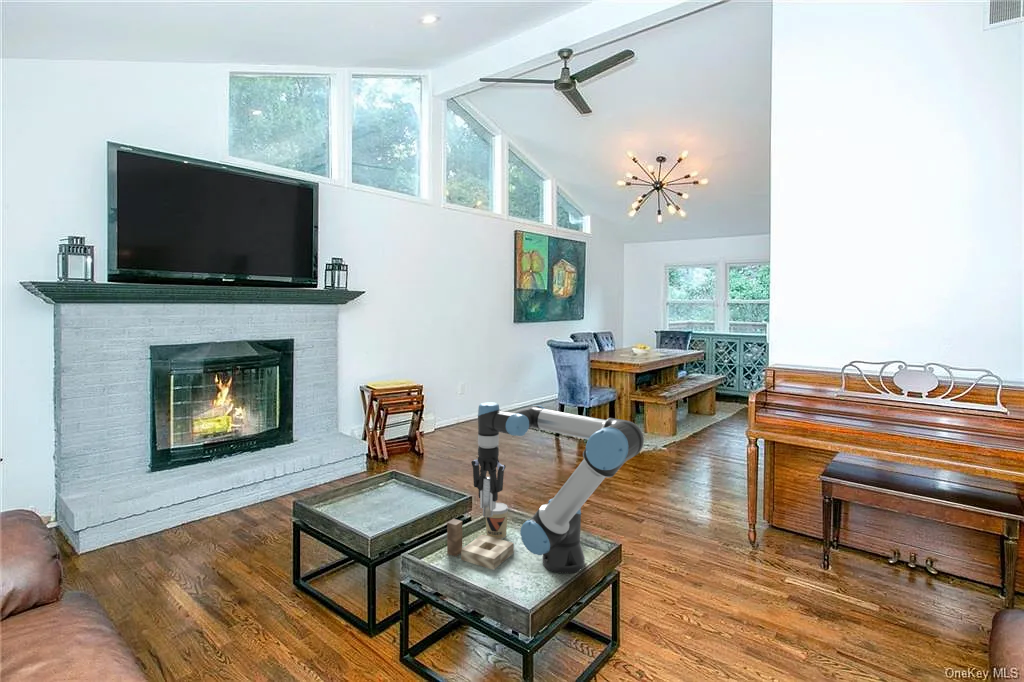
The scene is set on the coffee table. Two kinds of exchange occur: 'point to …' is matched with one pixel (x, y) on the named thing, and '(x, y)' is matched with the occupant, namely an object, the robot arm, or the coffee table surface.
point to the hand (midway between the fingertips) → (487, 507)
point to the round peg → (487, 497)
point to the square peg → (454, 537)
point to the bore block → (487, 551)
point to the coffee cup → (497, 522)
